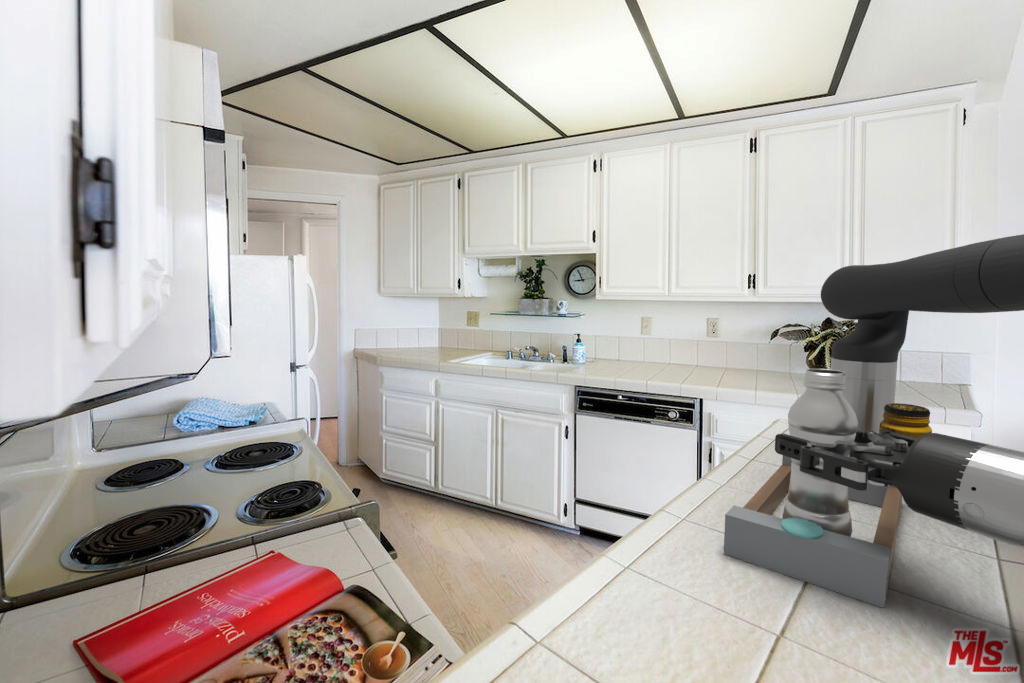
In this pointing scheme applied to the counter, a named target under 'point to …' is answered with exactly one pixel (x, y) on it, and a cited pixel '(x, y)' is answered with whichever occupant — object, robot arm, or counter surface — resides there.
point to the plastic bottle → (825, 422)
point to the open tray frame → (779, 487)
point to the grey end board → (809, 553)
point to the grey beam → (869, 496)
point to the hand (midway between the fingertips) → (803, 437)
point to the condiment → (906, 420)
